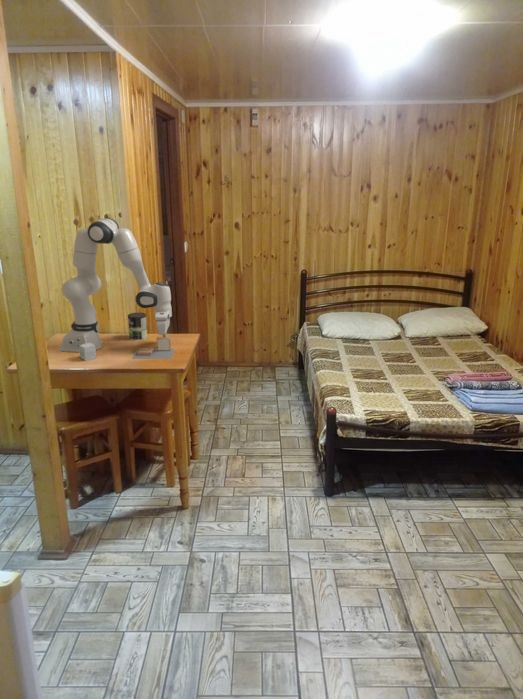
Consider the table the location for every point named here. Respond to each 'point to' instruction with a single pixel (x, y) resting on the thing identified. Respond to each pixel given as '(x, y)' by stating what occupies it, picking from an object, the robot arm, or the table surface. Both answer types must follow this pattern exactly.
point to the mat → (155, 355)
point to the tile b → (163, 344)
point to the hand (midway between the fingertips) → (164, 337)
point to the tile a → (145, 351)
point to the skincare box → (87, 351)
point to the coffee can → (137, 326)
